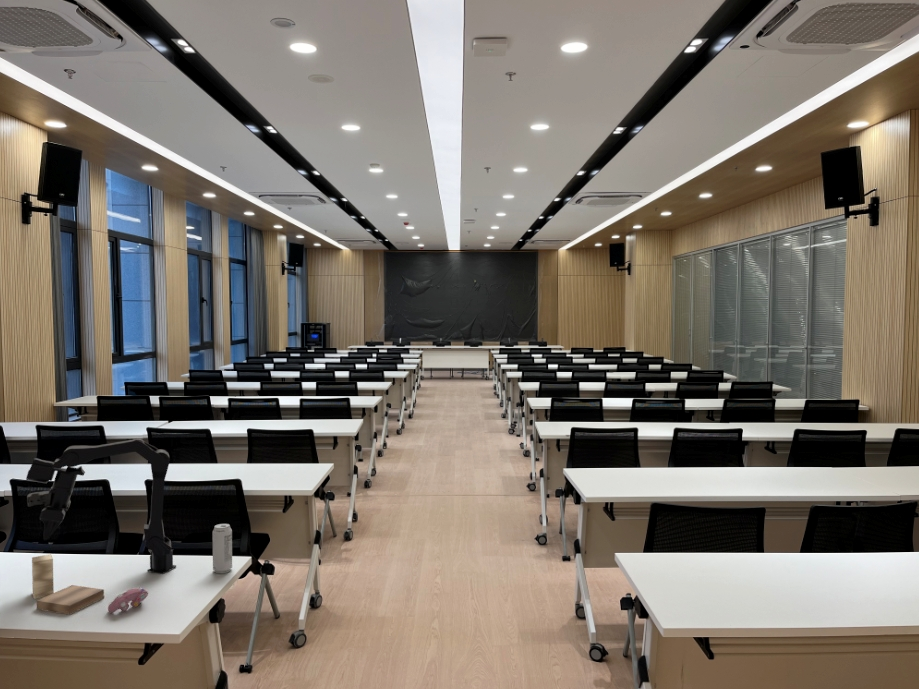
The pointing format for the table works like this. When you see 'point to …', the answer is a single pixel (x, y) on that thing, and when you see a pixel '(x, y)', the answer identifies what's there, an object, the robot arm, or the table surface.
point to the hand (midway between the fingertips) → (47, 535)
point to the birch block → (42, 576)
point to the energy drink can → (222, 548)
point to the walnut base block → (70, 599)
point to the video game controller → (128, 599)
